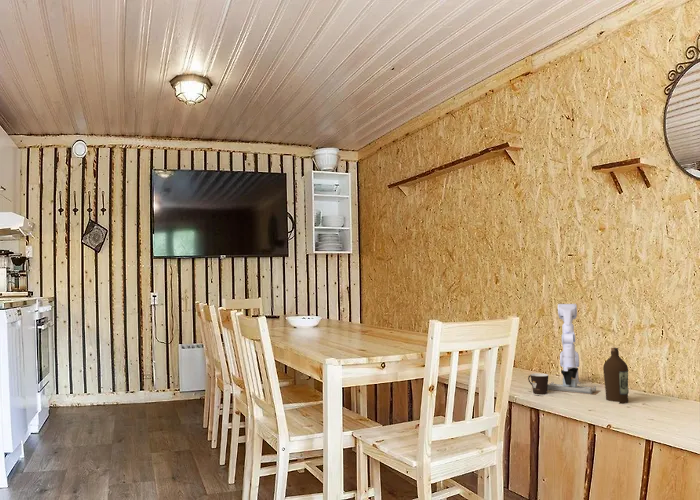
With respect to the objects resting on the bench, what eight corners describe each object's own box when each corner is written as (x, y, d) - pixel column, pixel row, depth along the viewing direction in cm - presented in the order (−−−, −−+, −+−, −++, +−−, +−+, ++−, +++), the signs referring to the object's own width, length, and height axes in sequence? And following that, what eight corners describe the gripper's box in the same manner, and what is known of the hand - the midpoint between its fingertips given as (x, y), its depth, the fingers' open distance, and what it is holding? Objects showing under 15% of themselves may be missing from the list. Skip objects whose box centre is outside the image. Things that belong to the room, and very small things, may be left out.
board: (549, 387, 300) (548, 386, 300) (600, 392, 284) (600, 390, 284) (542, 391, 291) (542, 389, 291) (595, 396, 276) (595, 394, 276)
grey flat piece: (552, 386, 298) (551, 382, 298) (596, 390, 285) (595, 386, 285) (546, 389, 291) (546, 384, 291) (591, 394, 278) (591, 389, 278)
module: (565, 387, 291) (564, 376, 291) (577, 388, 287) (576, 377, 287) (563, 388, 287) (562, 377, 288) (575, 389, 284) (574, 378, 284)
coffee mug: (551, 396, 278) (550, 376, 279) (534, 396, 278) (533, 376, 279) (544, 391, 290) (543, 372, 290) (527, 392, 290) (526, 372, 291)
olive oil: (600, 401, 266) (597, 348, 267) (613, 397, 272) (610, 346, 273) (621, 405, 257) (618, 350, 258) (634, 401, 263) (631, 348, 264)
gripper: (565, 354, 296) (566, 380, 295) (557, 358, 284) (558, 385, 284) (579, 355, 292) (580, 381, 291) (571, 359, 280) (572, 386, 280)
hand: (570, 383), depth 287 cm, fingers open, 7 cm apart
